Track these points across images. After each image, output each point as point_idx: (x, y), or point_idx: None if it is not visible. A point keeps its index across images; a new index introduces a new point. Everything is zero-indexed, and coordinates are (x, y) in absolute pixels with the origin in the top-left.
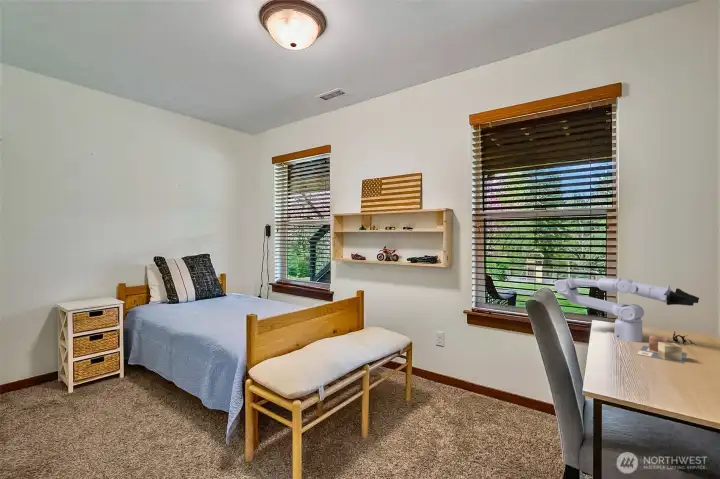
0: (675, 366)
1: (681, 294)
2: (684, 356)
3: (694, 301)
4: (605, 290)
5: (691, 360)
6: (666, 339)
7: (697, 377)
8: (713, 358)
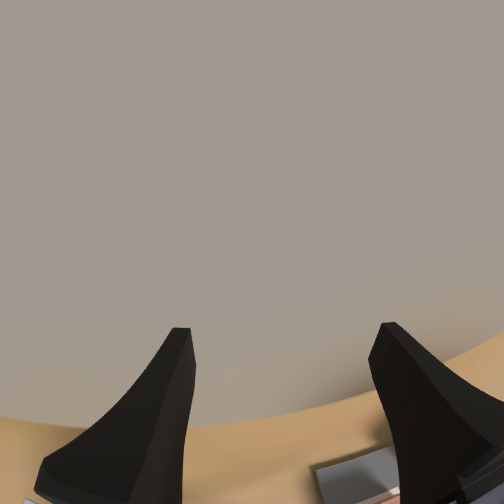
0: None
1: (161, 466)
2: (371, 456)
3: (191, 379)
4: None
5: (368, 441)
6: (398, 496)
7: (483, 368)
8: (271, 417)
